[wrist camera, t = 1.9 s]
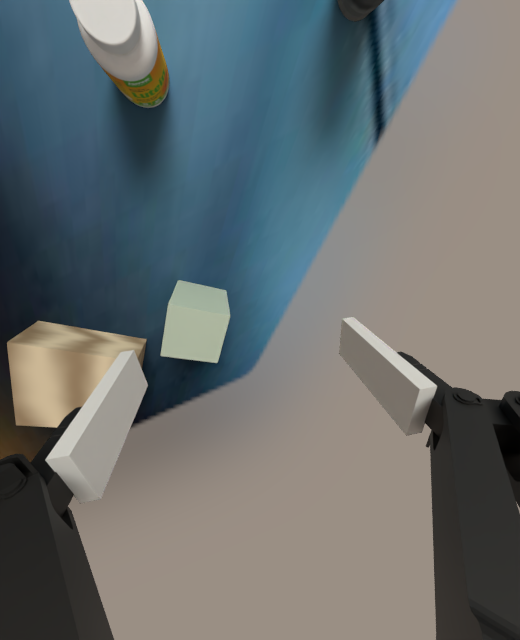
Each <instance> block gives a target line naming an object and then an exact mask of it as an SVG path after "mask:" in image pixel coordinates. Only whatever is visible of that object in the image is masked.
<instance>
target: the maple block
mask: <svg viewBox="0 0 520 640" xmlns="http://www.w3.org/2000/svg"><path fill="white" fill-rule="evenodd" d="M146 340H147V339H142V338H136V337H130V336H124V335H118V334H112V333H107V332H101V331H95V330H89V329H83V328H77V327H72V326H66V325H60V324H54V323H48V322H42V321H37V322H36V323H34V324H33V325H32V326H30V327H29V328H27V329H26V330H24V331H23V332H21V333H20V334H18V335H17V336H15V337H14V338H13V339H11V340H10V341H8V342H7V348H8V357H9V366H10V375H11V384H12V393H13V402H14V410H15V419H16V425H23V426H40V427H58V426H59V424H60V423H61V422H62V420H63V419H64V418H65V417H66V416H67V415H68V414H69V413H70V412H71V411H73V410H74V409H75V408H77V407H82V406H83V405H84V404H85V402H86V401H87V399H88V398H89V397H90V395H91V394H92V392H93V391H94V389H95V388H96V387H97V385H98V384H99V382H100V381H101V379H102V378H103V377H104V375H105V374H106V372H107V371H108V369H109V368H110V367H111V365H112V364H113V362H114V361H115V359H116V358H117V357H118V355H119V354H120V352H124V351H131V350H134V351H135V354H136V356H137V359H138V361H139V364H140V366H141V369H142V365H143V359H144V353H145V346H146Z"/></svg>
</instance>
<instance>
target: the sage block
mask: <svg viewBox="0 0 520 640" xmlns="http://www.w3.org/2000/svg"><path fill="white" fill-rule="evenodd" d="M229 319H230V311H229V305H228V299H227V293H226V290H221V289H217V288H212V287H208V286H203V285H199V284H194V283H190V282H185V281H181V280H178V282H177V284H176V287H175V289H174V292H173V294H172V296H171V299H170V301H169V303H168V309H167V316H166V322H165V329H164V336H163V343H162V349H161V356H165V357H173V358H181V359H189V360H197V361H205V362H213V363H218V360H219V356H220V352H221V349H222V345H223V341H224V338H225V334H226V330H227V326H228V323H229Z"/></svg>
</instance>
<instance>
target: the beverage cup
mask: <svg viewBox="0 0 520 640" xmlns="http://www.w3.org/2000/svg"><path fill="white" fill-rule="evenodd" d="M383 1H384V0H338V4H339V8H340V10H341V11H342V13H343V15H344V16H345V17H346V18H347V19H348V20H351V21H355V22H356V21H359V20H362V19H363V18H365V17H366V16H367V15H368V14H369V13H370V12H371V11H373V10H374V9H375V8H376V7H378V6H379V5H380V4H381V3H382V2H383Z"/></svg>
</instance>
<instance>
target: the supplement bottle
mask: <svg viewBox="0 0 520 640" xmlns="http://www.w3.org/2000/svg"><path fill="white" fill-rule="evenodd" d="M69 1H70V4H71V7H72V9H73V12H74V14H75V16H76V18H77V21H78V25H79V29H80V32H81V35H82V37H83V40H84V42H85V44H86V46H87V48H88V49H89V51H90V52H91V54H92V55H93V57H94V58H95V60H96V61H97V62H98V64H99V65H100V66H101V67H102V69H103V70H104V71H105V72H106V74H107V75H108V76H109V77H110V78H111V80H112V81H113V82H114V83H115V84H116V86H117V87H118V88H119V90H120V91H121V92H122V93H123V94H124V95H125V96H126V97H127V98H128V99H129V100H130V101H132V102H133V103H135V104H136V105H138V106H141V107H145V108H151V107H155V106H157V105H159V104H160V103H162V101H163V100H164V99H165V97H166V95H167V93H168V89H169V73H168V69H167V65H166V62H165V59H164V55H163V52H162V49H161V46H160V43H159V40H158V37H157V34H156V30H155V27H154V24H153V22H152V19H151V16H150V14H149V12H148V10H147V8H146V6H145V4H144V3H143V1H142V0H69Z"/></svg>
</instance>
